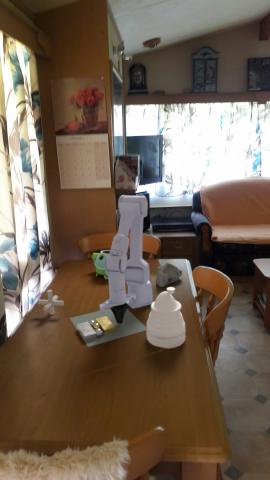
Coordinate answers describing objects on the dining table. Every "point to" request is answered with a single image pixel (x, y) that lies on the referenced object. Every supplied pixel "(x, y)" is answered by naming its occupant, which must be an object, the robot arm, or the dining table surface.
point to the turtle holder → (100, 262)
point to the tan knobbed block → (104, 325)
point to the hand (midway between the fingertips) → (119, 322)
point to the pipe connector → (50, 302)
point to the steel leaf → (89, 330)
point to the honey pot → (166, 321)
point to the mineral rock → (167, 274)
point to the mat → (122, 330)
